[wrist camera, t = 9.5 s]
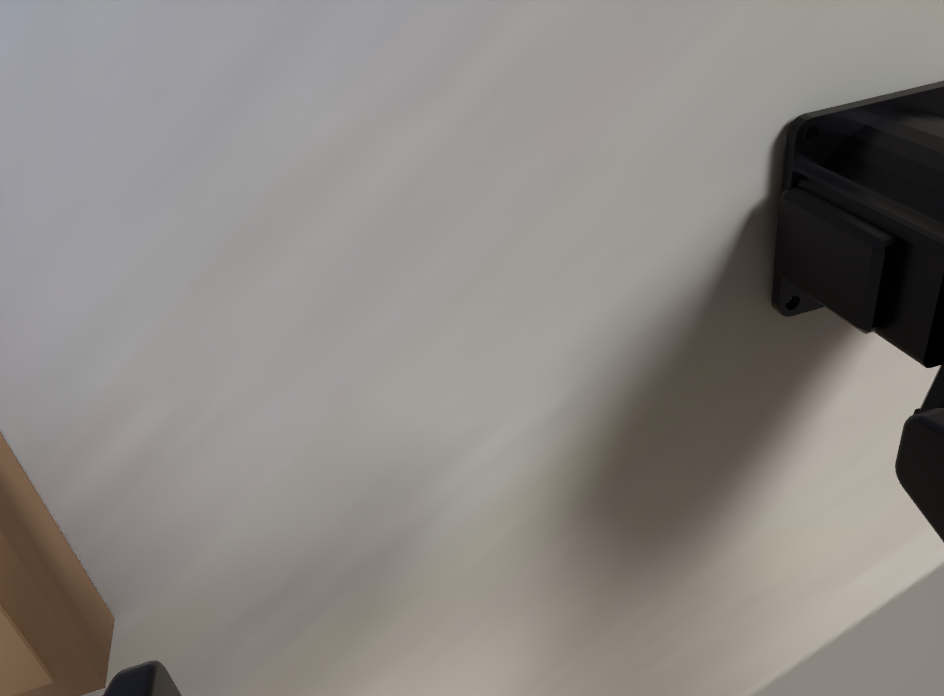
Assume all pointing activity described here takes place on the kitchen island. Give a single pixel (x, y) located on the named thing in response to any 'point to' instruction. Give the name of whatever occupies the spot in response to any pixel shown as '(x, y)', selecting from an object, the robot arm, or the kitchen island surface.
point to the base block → (45, 600)
